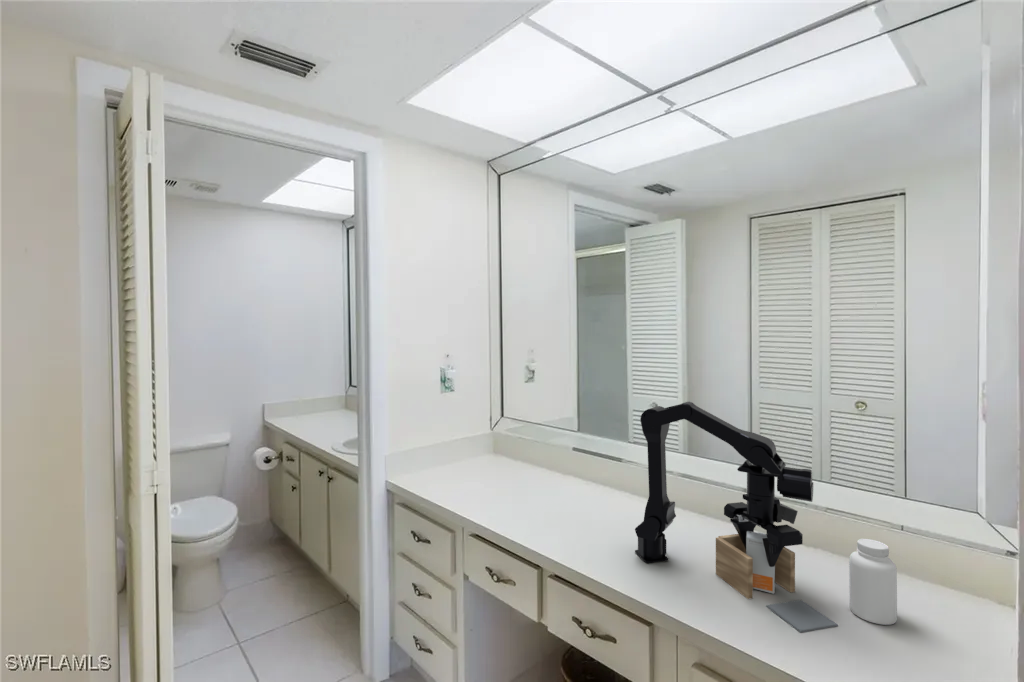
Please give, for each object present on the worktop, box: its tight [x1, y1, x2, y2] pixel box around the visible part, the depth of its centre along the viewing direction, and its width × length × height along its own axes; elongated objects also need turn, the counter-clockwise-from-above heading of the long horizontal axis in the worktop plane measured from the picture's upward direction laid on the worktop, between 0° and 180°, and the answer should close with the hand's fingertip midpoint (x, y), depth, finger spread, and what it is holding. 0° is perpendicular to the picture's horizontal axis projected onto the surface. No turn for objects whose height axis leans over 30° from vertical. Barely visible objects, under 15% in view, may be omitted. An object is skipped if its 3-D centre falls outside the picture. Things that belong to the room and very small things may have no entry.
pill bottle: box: [848, 538, 898, 626], centre depth 99 cm, size 8×8×15 cm
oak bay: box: [715, 533, 796, 600], centre depth 112 cm, size 12×12×9 cm
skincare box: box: [746, 531, 776, 595], centre depth 110 cm, size 6×4×12 cm
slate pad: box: [765, 599, 838, 633], centre depth 99 cm, size 9×9×1 cm
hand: (760, 559), depth 110 cm, fingers closed on skincare box, 7 cm apart
